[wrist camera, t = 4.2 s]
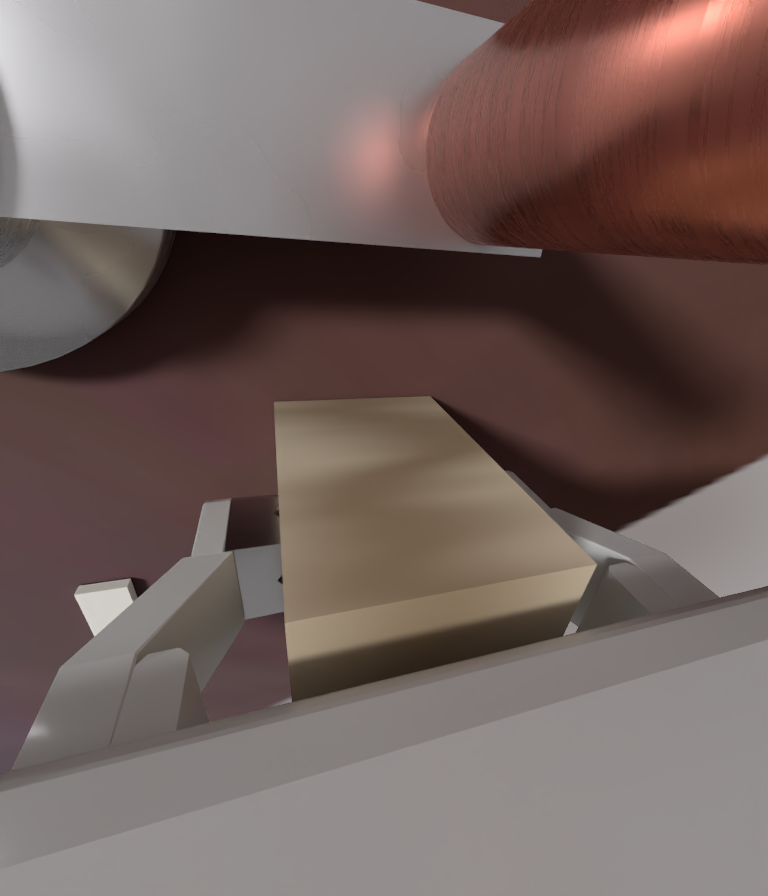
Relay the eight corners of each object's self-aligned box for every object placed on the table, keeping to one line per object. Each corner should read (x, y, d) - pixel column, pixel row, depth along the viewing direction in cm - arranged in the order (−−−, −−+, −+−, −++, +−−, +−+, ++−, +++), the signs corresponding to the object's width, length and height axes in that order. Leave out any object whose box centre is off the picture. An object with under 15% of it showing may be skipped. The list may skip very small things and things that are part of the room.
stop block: (430, 396, 10) (597, 563, 5) (414, 513, 12) (522, 720, 7) (273, 401, 9) (285, 623, 4) (283, 530, 11) (299, 788, 6)
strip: (130, 578, 10) (127, 587, 10) (159, 657, 12) (157, 666, 12) (78, 585, 10) (74, 595, 10) (116, 665, 12) (113, 675, 11)
